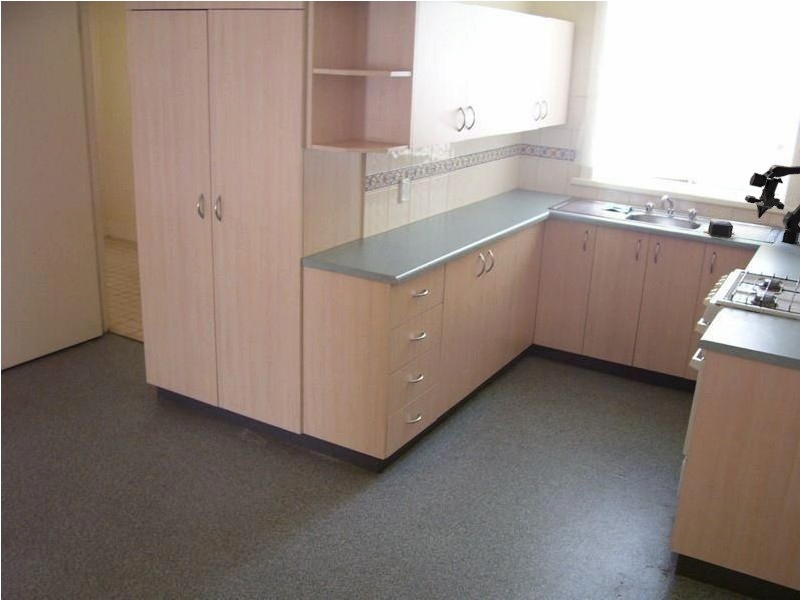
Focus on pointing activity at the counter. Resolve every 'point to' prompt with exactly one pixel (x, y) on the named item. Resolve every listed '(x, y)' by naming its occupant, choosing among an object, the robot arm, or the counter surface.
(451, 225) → the counter surface
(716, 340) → the counter surface
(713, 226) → the small box
